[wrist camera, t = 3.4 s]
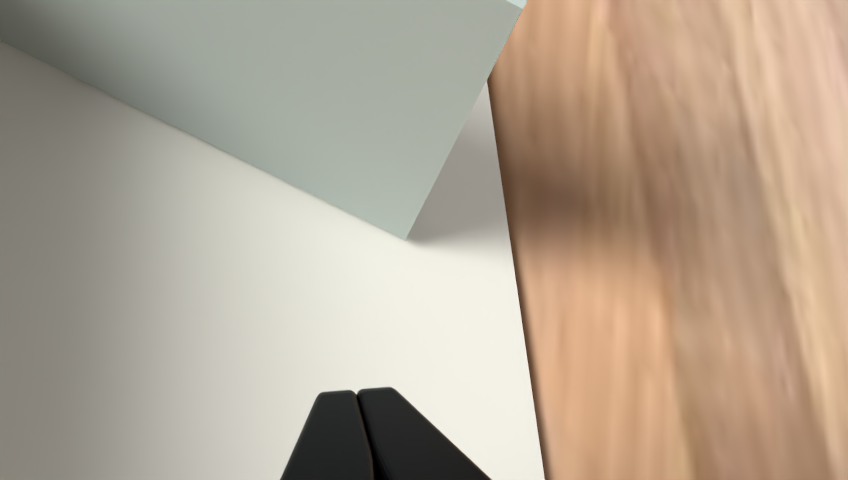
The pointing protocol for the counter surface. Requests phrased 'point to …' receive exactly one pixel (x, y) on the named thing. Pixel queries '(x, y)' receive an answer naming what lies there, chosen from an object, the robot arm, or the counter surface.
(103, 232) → the card
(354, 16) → the hinged panel
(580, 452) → the counter surface
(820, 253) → the counter surface
